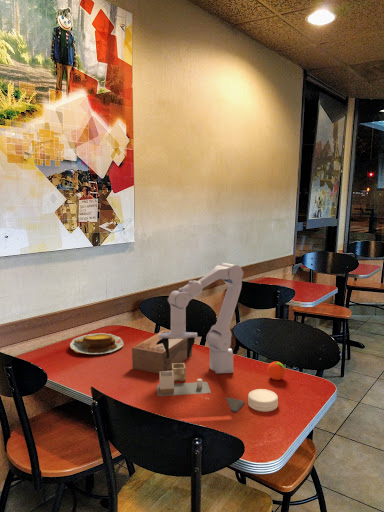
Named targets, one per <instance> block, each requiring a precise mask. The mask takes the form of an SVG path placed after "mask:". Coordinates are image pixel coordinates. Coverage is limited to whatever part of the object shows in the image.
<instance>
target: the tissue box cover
mask: <svg viewBox="0 0 384 512" xmlns="http://www.w3.org/2000/svg"><path fill="white" fill-rule="evenodd" d="M169 332H171V330H168V329H163V330H162V331H159V332H158V333H156V334H153V335H152V336H150V337H149V338H147V339H145V340H143V341H142V342H139V343H138V344H136V345H135V346H132V347H131V358H132V359H131V360H132V362H131V363H132V364H131V365H132V370H140V371H143V372H150V373H153V374H159V371H171V370H172V364H175V363H184V361H186V360H187V359H188V358H187V339H168V340H169V358H167V353H166V350H165V347H164V345H163V343H162V340H159V333H169ZM191 356H193V348H192V349H191V351H190V355H189V358H191Z"/></svg>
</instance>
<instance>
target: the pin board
mask: <svg viewBox="0 0 384 512" xmlns="http://www.w3.org/2000/svg"><path fill="white" fill-rule="evenodd" d="M156 392H157V395H156V396H157V397H165V396H166V397H167V396H168V397H169V396H182V395H183V396H185V395H201V394H202V395H203V394H212V392H211V389H210V385H209V383H208V381H203V378H197V379H196V381H195V382H181V383H174V392H173V393H160V384H156Z"/></svg>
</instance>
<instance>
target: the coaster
mask: <svg viewBox="0 0 384 512" xmlns="http://www.w3.org/2000/svg"><path fill="white" fill-rule="evenodd" d="M278 400H279V397H278V394H277V393H275V392H274V391H272V390H270V389H265V388H258V389H253V390H251V391H249V392H248V395H247V404H248V406H249V407H250V408H251V409H253V410H255V411H257V412H262V413H264V412H266V413H267V412H272V411H275V410H276V409H277V408H278V407H279V401H278Z"/></svg>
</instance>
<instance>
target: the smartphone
mask: <svg viewBox="0 0 384 512" xmlns="http://www.w3.org/2000/svg"><path fill="white" fill-rule="evenodd" d="M225 400H226V402H227V405H228V407H229V410H230V412H232V413H238V412H239V411H240V409H241V408H242V407H243V406H244V405H245V401H244V400H241V399H236V398H233V397H228V396H226V397H225Z"/></svg>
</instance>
